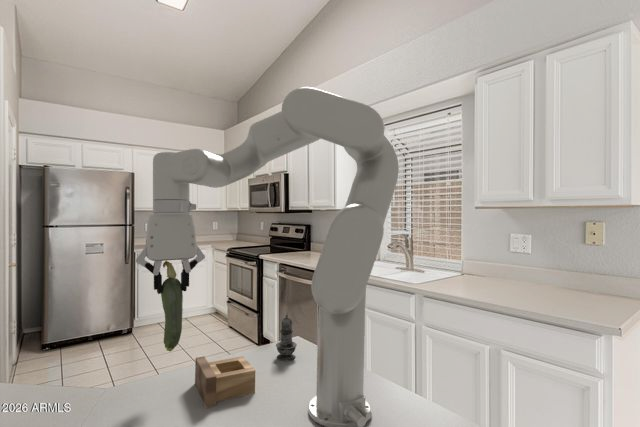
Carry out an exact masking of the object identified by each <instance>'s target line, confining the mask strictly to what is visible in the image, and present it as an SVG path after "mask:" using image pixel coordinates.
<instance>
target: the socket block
mask: <svg viewBox="0 0 640 427" xmlns="http://www.w3.org/2000/svg"><path fill="white" fill-rule="evenodd" d="M208 363H209V365H210V366H211V368H212V370H213V371H214V373H215V375H216V403H217V402H221V401H225V400H230V399H234V398H237V397H241V396H247V395H251V394H256V393H255V392H256V369H255V368H254V367H253V365H251V363H250V362H249V361H248V360H247V358H246V357H244V356H238V357H231V358H227V359H221V360H215V361H208Z"/></svg>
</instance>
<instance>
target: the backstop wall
mask: <svg viewBox="0 0 640 427" xmlns="http://www.w3.org/2000/svg"><path fill="white" fill-rule="evenodd" d="M208 362H209V361H208V360H207V358H206V357H205V356H200V357H195V362H194V363H195V367H194V369H195V372H194V373H195V374H194V385H195V387H196V389H197V391H198V394H199V396H200V398H201V401H202V403H203V405H204V407H205V408H210V407H215V406H216V405H217V402H216V375H215V373H214V371H213V370H212V368H211V366H210V365H209V363H208Z"/></svg>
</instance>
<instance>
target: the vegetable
mask: <svg viewBox="0 0 640 427" xmlns="http://www.w3.org/2000/svg"><path fill="white" fill-rule="evenodd" d="M162 267H163V268H164V269H165V268H166V277H167V278H166V279H165V280H164V281H163V282H162V293H161V294H160V295H161V296H160V297H161V303H162V308H163V313H164V321H165V322H164V332H163V333H164V334H163V344H164V348H165V350H166V351H168V352H172V351H173V350H174V349H175V348H177V346H178V344H179V342H180V339H181V335H182V330H183V311H184V308H183V301H184V300H183V299H184V296H183V290H182V285H181V280H179V279H178V278H177V272H176V270H175V267H174V265H173V263H171V262H170V261H163V263H162Z"/></svg>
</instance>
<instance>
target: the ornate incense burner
mask: <svg viewBox="0 0 640 427" xmlns="http://www.w3.org/2000/svg"><path fill="white" fill-rule="evenodd" d="M279 332H280V341H279V342H277V343H275V347H276V350H277V352H278V353H279V354H278V355H277V356H276V359H277V360H278V361H281V362H291V361H293V360H295V359H296V355H295V354H294V352H295V350H296V347H297V346H298V345H297V343H296V342H294V341H293V333H294V330H293V321H292V319H291V318H289V316H288V314H285V318H284V317H283V319H282V320H281V329H280V330H279Z"/></svg>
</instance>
